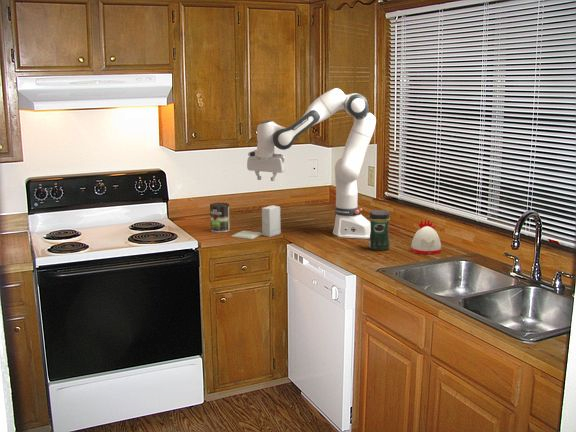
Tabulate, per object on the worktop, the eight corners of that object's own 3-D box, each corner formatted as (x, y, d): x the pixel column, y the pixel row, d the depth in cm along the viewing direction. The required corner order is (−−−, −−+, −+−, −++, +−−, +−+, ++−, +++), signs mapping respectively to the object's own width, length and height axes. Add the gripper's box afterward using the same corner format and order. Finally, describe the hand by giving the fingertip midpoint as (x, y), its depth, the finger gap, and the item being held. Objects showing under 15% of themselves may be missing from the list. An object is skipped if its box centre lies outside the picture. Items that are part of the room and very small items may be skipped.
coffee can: (223, 233, 342) (222, 206, 339) (207, 231, 347) (206, 205, 344) (233, 229, 351) (232, 203, 348) (217, 227, 356) (216, 201, 353)
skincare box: (273, 232, 343) (272, 204, 340) (281, 234, 339) (280, 206, 336) (261, 235, 337) (261, 207, 334) (269, 237, 333) (269, 208, 330)
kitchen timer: (409, 246, 313) (410, 215, 310) (439, 246, 312) (440, 216, 308) (412, 254, 300) (413, 222, 296) (442, 254, 298) (444, 222, 295)
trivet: (263, 234, 340) (263, 232, 340) (251, 239, 329) (251, 237, 329) (243, 231, 345) (243, 230, 345) (231, 236, 335) (231, 235, 334)
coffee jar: (389, 246, 313) (390, 208, 309) (389, 250, 305) (390, 212, 301) (369, 246, 314) (369, 208, 310) (368, 250, 307) (369, 211, 303)
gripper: (287, 153, 327) (286, 180, 330) (251, 151, 336) (251, 178, 339) (281, 155, 321) (281, 182, 324) (245, 152, 330) (245, 179, 333)
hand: (265, 180), depth 332 cm, fingers open, 6 cm apart
